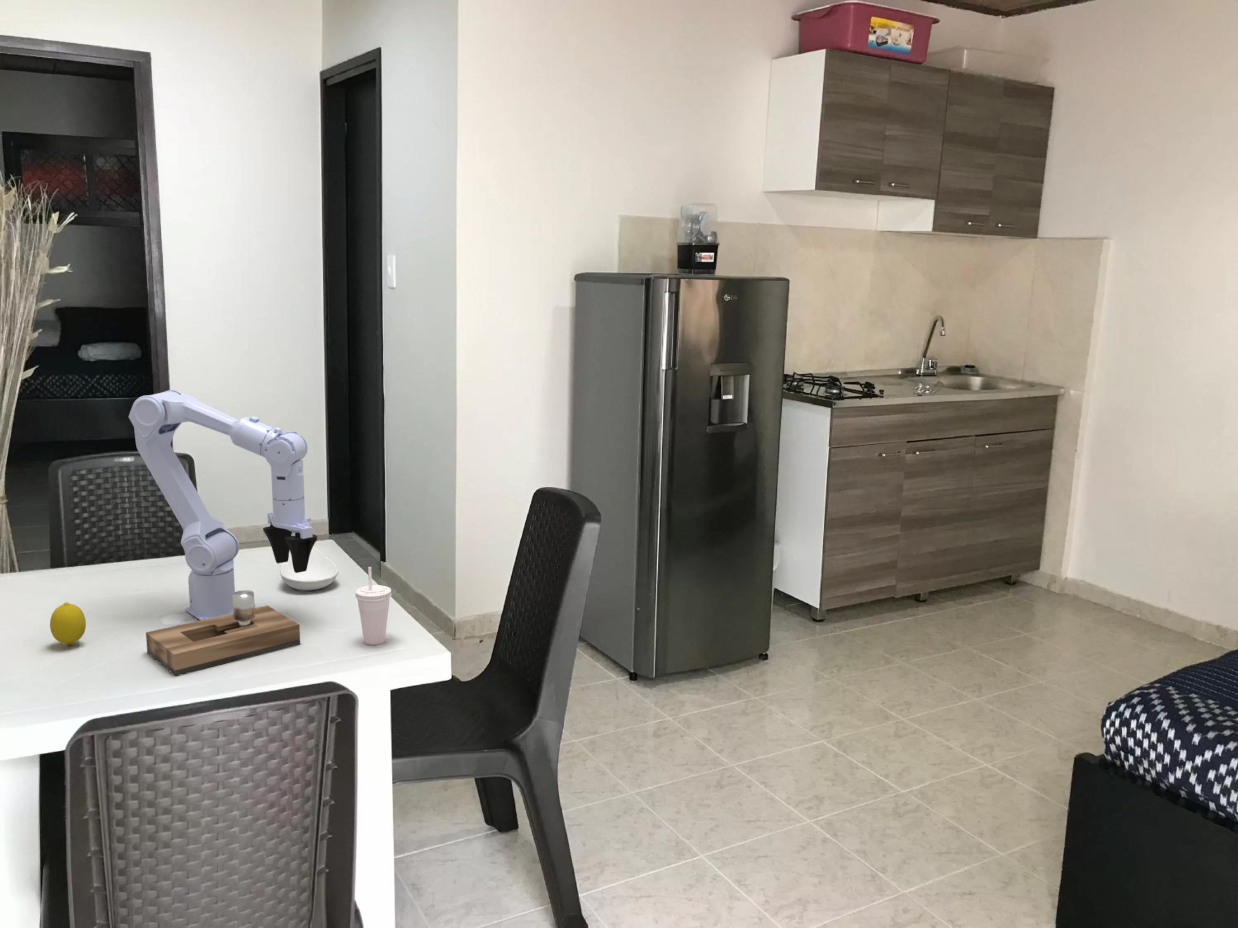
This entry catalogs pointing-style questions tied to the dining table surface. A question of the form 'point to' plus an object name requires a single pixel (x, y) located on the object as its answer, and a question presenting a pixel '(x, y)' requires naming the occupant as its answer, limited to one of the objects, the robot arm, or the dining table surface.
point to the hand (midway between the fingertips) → (291, 566)
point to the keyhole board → (221, 640)
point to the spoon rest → (310, 572)
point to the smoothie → (373, 610)
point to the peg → (243, 607)
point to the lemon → (67, 623)
